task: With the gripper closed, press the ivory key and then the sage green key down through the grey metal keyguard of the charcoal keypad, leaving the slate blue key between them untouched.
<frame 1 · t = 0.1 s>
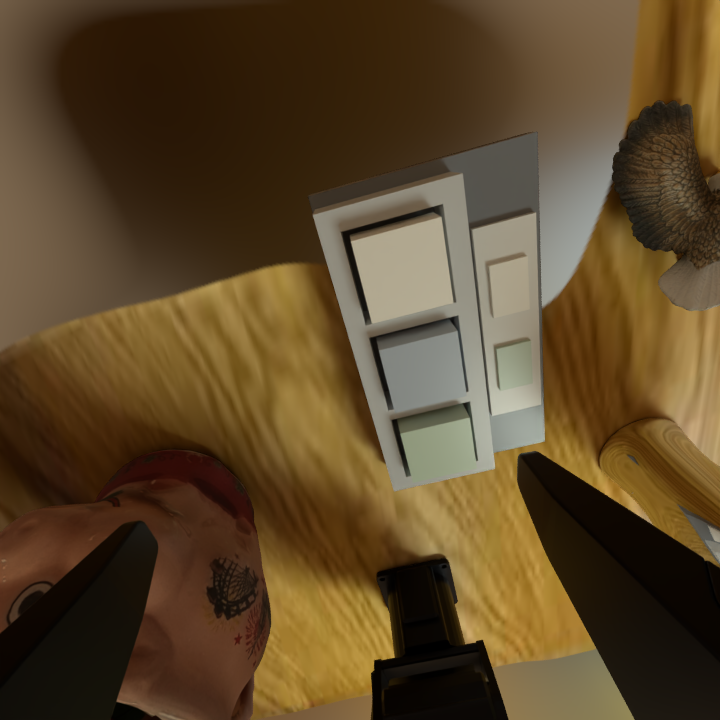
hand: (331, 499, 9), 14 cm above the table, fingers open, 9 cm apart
keypad: (411, 342, 23), on the table
ivory key: (401, 269, 18), point 3 cm above the table, slide at 0.0 cm
sage key: (436, 442, 23), point 3 cm above the table, slide at 0.0 cm
eagle figurine: (673, 192, 20), on the table
slate key: (421, 366, 21), point 3 cm above the table, slide at 0.0 cm
decorative planter: (204, 505, 29), on the table
beer glass: (637, 447, 29), on the table
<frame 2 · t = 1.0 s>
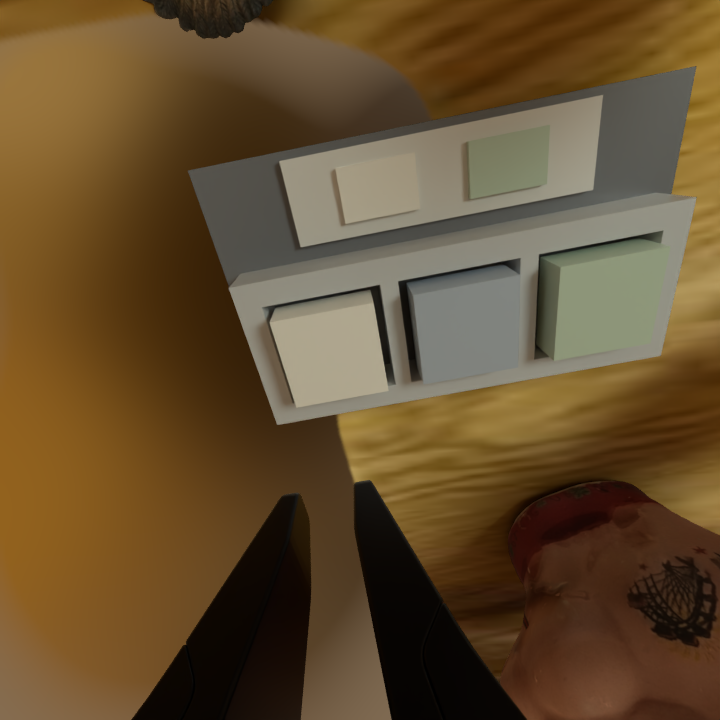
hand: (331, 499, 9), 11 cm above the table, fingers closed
keypad: (444, 300, 19), on the table
ivory key: (332, 349, 16), point 3 cm above the table, slide at 0.0 cm
sage key: (595, 300, 16), point 3 cm above the table, slide at 0.0 cm
slate key: (462, 325, 16), point 3 cm above the table, slide at 0.0 cm
decorative planter: (594, 513, 27), on the table
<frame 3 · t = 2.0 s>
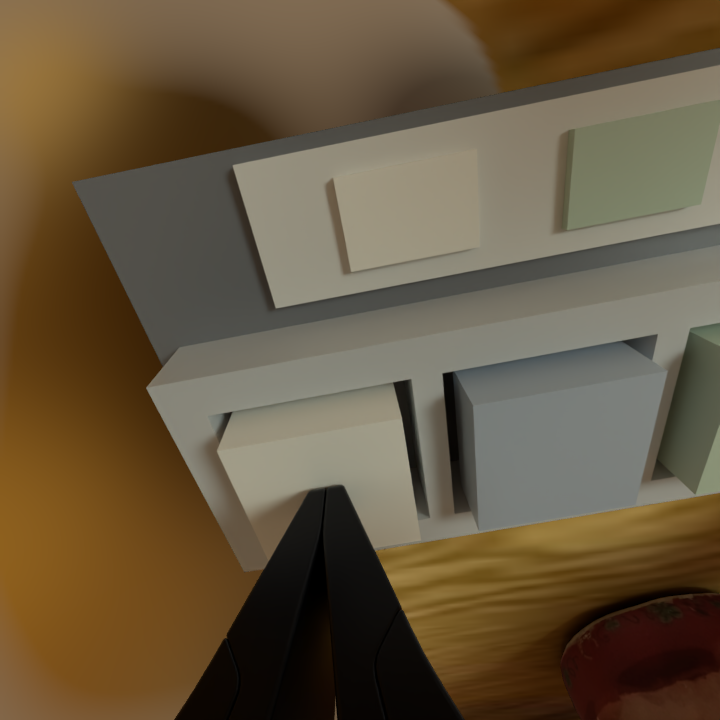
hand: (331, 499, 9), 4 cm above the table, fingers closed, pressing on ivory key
keypad: (498, 374, 12), on the table
ivory key: (329, 475, 10), point 3 cm above the table, slide at 0.0 cm, touching gripper
slate key: (545, 437, 9), point 3 cm above the table, slide at 0.0 cm
decorative planter: (673, 622, 21), on the table
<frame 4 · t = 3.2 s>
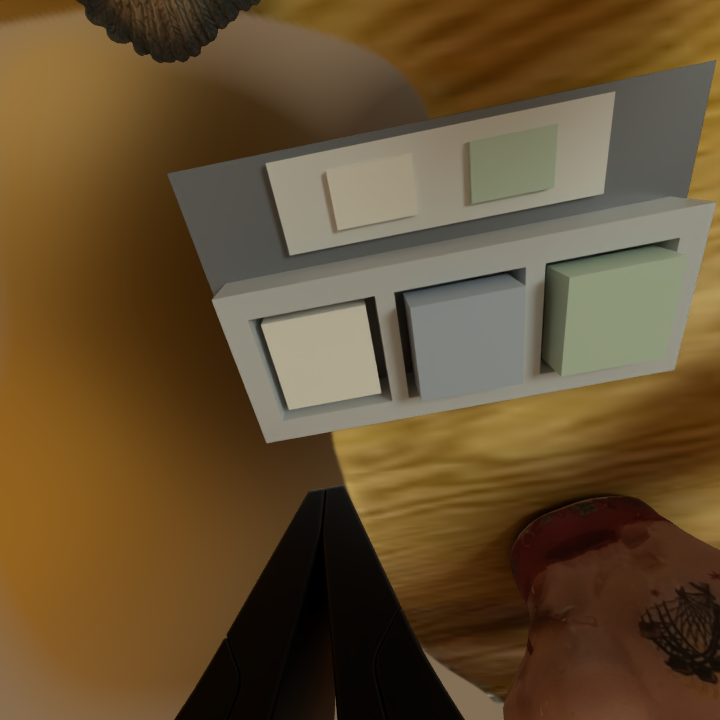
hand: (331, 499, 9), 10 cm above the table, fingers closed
keypad: (443, 310, 17), on the table
ivory key: (325, 351, 16), point 2 cm above the table, slide at 1.1 cm
sage key: (606, 312, 15), point 3 cm above the table, slide at 0.0 cm
slate key: (463, 339, 15), point 3 cm above the table, slide at 0.0 cm
decorative planter: (600, 528, 26), on the table
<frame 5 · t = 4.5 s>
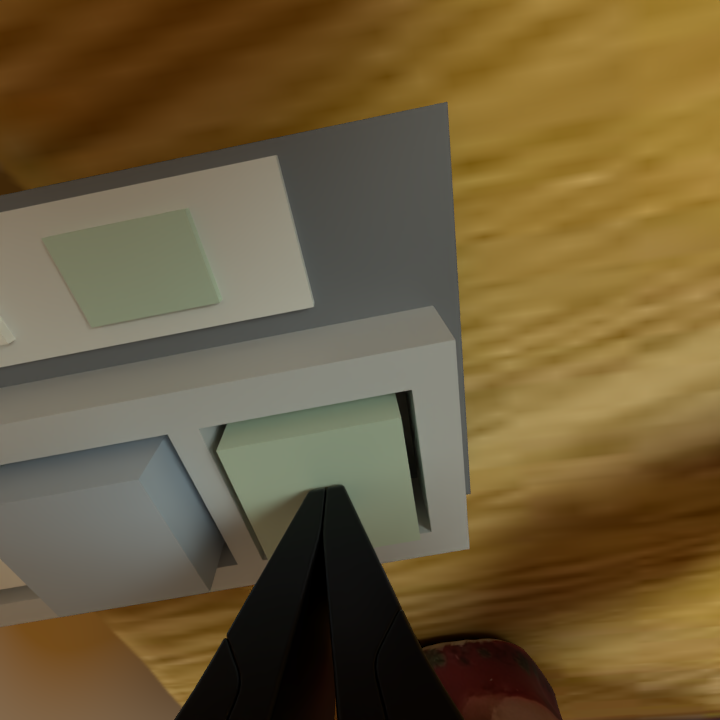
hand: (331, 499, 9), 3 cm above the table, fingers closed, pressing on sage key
keypad: (162, 444, 12), on the table
sage key: (328, 474, 10), point 3 cm above the table, slide at 0.5 cm, touching gripper
slate key: (112, 526, 9), point 3 cm above the table, slide at 0.0 cm
decorative planter: (474, 662, 21), on the table
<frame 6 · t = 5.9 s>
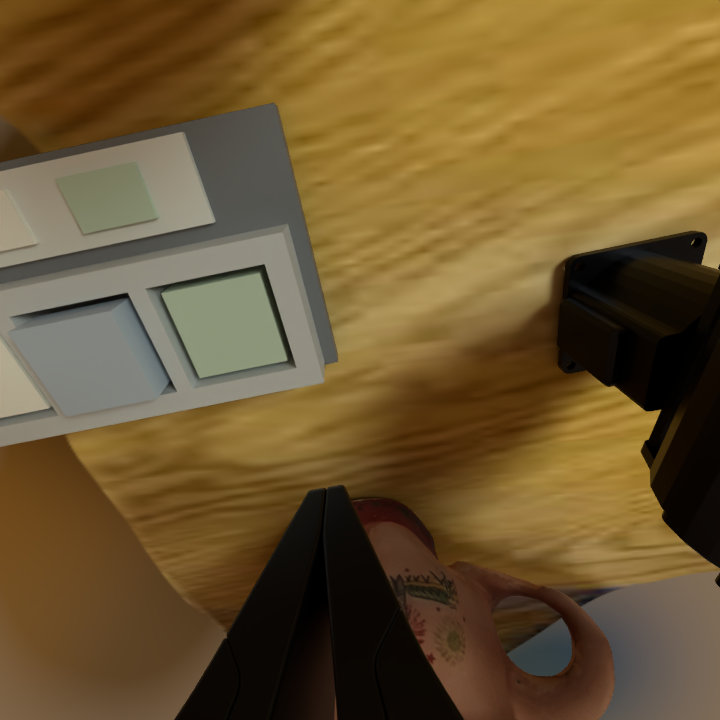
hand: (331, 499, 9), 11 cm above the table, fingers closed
keypad: (131, 328, 19), on the table
sage key: (232, 321, 17), point 2 cm above the table, slide at 1.1 cm
slate key: (97, 358, 16), point 3 cm above the table, slide at 0.0 cm
decorative planter: (380, 528, 27), on the table
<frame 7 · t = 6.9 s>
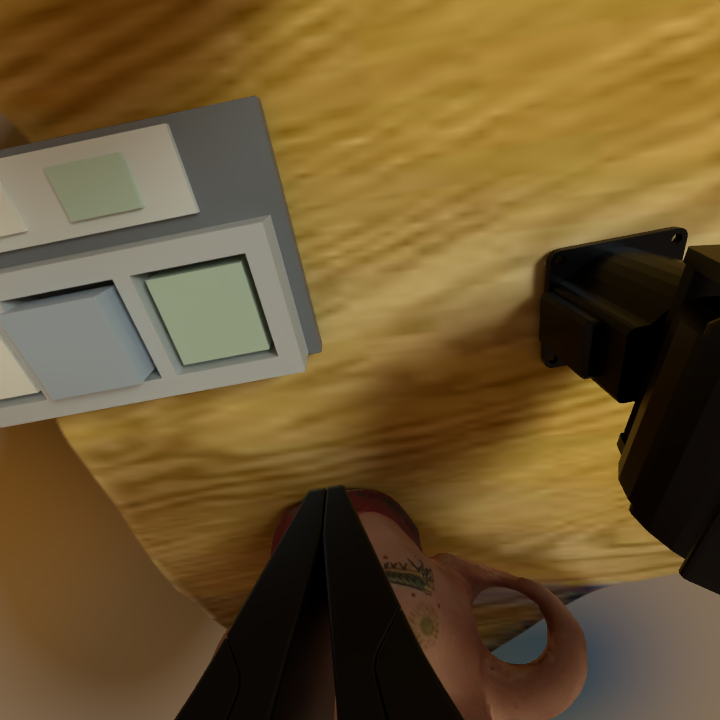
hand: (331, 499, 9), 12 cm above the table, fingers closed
keypad: (120, 316, 19), on the table
sage key: (215, 310, 17), point 2 cm above the table, slide at 1.1 cm
slate key: (83, 343, 16), point 3 cm above the table, slide at 0.0 cm
decorative planter: (367, 520, 27), on the table
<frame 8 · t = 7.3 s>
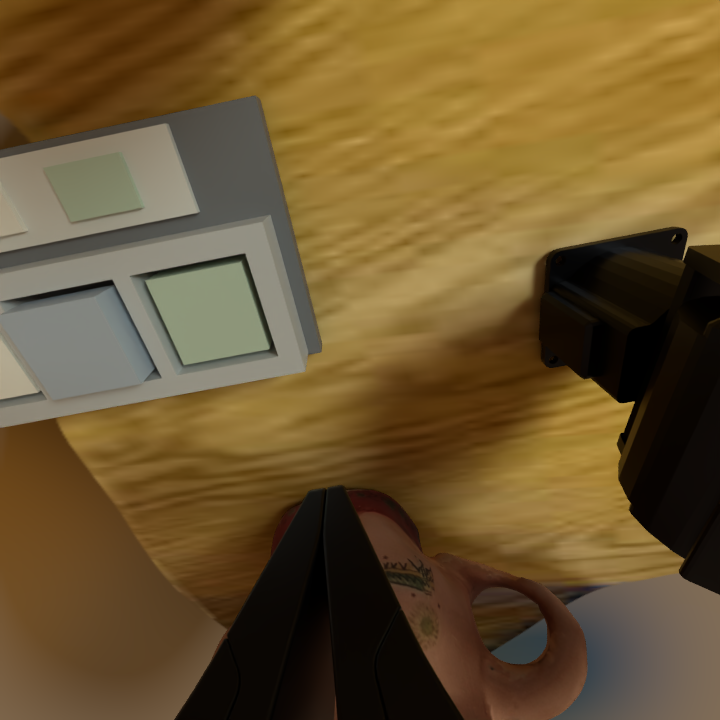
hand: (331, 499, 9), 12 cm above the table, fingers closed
keypad: (120, 316, 19), on the table
sage key: (215, 310, 17), point 2 cm above the table, slide at 1.1 cm
slate key: (83, 343, 16), point 3 cm above the table, slide at 0.0 cm
decorative planter: (367, 520, 27), on the table
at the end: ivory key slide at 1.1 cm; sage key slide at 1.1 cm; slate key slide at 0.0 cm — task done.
